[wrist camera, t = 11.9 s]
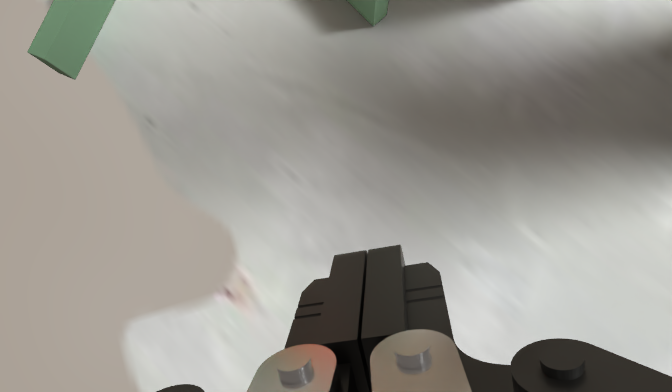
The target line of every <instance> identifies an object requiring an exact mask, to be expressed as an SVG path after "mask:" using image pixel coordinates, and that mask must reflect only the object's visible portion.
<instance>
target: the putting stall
mask: <svg viewBox="0 0 672 392" xmlns="http://www.w3.org/2000/svg"><path fill="white" fill-rule="evenodd" d="M347 1H348V2H349V3H350V4H351V5H352V6H353V7H354V8H355V9H356V10H357V11H358V12H359V13H360V14H361V15H362V16H363V17H364V18H365V19H366V20H367V21H368V22H369V23H370V24H371V25H372V26H375V25H376V24H377V23H378V22H379V21H380V20H381V19H382V18H383V17H385V16H386V15H387V7H388V0H347ZM114 2H115V0H54V1H53V3H52V5H51V7H50V9H49V11H48V13H47V15H46V17H45V19H44V21H43V23H42V25H41V27H40V28H39V30H38V32H37V34H36V36H35V39H34V40H33V42H32V44H31V46H30V48H29V50H28V53H30V54H31V55H33V56H34V57H36V58H37V59H39V60H40V61H42V62H43V63H45V64H46V65H48V66H49V67H51V68H52V69H54V70H55V71H57V72H58V73H60V74H63V75H65V76H67V77H70V78H72V79H76V77H77V75H78V73H79V71H80V69H81V67H82V65H83V63H84V61H85V59H86V57H87V55H88V54H89V52H90V50H91V48H92V46H93V44H94V42H95V40H96V38H97V36H98V34H99V32H100V30H101V28H102V26H103V24H104V22H105V20H106V18H107V16H108V14H109V12H110V10H111V8H112V6H113V4H114Z"/></svg>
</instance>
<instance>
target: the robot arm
mask: <svg viewBox="0 0 672 392" xmlns="http://www.w3.org/2000/svg"><path fill="white" fill-rule="evenodd" d="M157 392H204V390H203V389H201V388H200V387H198V386H195V385H190V384H183V385H175V386H171V387H167V388H164V389H162V390H159V391H157ZM247 392H672V377H671V376H668V375H666V374H663V373H661V372H658V371H656V370H653V369H651V368H648V367H646V366H643V365H641V364H638V363H636V362H634V361H631V360H629V359H626V358H624V357H621V356H619V355H616V354H614V353H611V352H609V351H606V350H604V349H601V348H599V347H596V346H594V345H591V344H589V343H586V342H582V341H578V340H572V339H547V340H541V341H537V342H534V343H531V344H529V345H527V346H525V347H523V348H522V349H520V350H519V351H518V352H517V353H516V354H515V356H514V357H513V359H512V361H511V365H501V364H492V363H487V362H482V361H479V360H476V359H474V358H472V357H470V356H468V355H466V354H465V353H463V352H462V351H461V350H460V349H459V348H458V347H457V345H456V344H455V342H454V339H453V334H452V329H451V325H450V320H449V315H448V310H447V305H446V300H445V296H444V291H443V286H442V281H441V276H440V272H439V271H438V270H437V269H435V268H434V267H433V266H432V265H430V264H429V263H428V262H427V263H420V264H414V265H407V266H405V263H404V257H403V252H402V248H401V245H396V246H389V247H383V248H377V249H370V250H368V253H367V251H366V250H365V251H358V252H352V253H346V254H340V255H335V256H334V259H333V263H332V267H331V272H330V276H329V278H323V279H316V280H314V281H313V282H312V283H311V284H310V285H309V286H308V287H307V288H306V289H305V290H304V291H303V292H302V294H301V297H300V301H299V304H298V308H297V310H296V313H295V319H294V320H293V323H292V326H291V329H290V333H289V336H288V339H287V342H286V345H285V349H284V350H281V351H279V352H277V353H275V354H274V355H272V356H271V357H269V358H268V359H267V360H266V361H264V362H263V363H262V364H261V366H260V367H259V368H258V370H257V372H256V374H255V376H254V378H253V380H252V382H251V384H250V386H249V388H248V390H247Z"/></svg>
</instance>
